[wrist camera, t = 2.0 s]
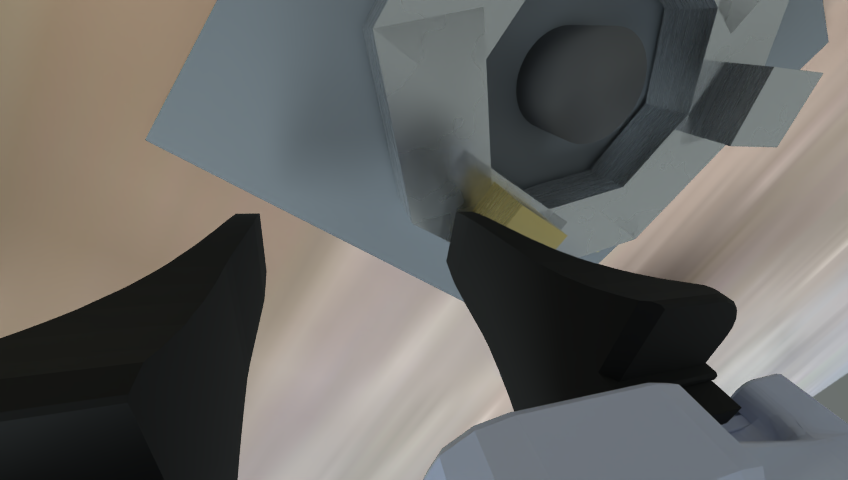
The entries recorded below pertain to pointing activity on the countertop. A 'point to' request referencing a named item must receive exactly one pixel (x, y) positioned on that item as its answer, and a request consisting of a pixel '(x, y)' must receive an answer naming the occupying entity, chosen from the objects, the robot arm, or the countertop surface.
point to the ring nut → (622, 161)
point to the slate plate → (361, 119)
